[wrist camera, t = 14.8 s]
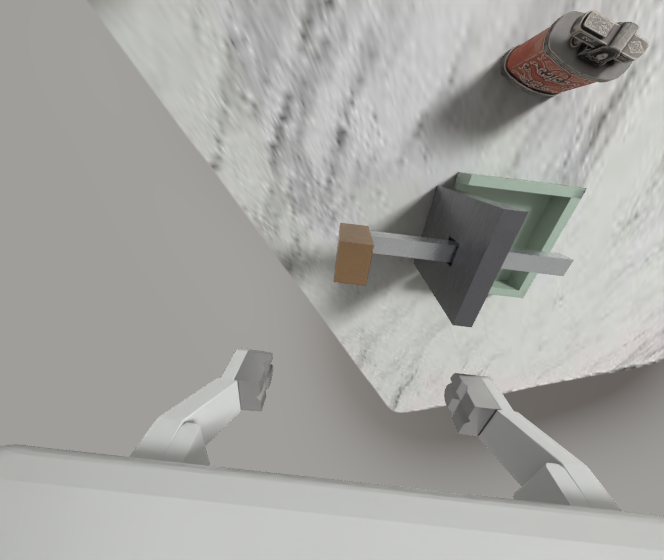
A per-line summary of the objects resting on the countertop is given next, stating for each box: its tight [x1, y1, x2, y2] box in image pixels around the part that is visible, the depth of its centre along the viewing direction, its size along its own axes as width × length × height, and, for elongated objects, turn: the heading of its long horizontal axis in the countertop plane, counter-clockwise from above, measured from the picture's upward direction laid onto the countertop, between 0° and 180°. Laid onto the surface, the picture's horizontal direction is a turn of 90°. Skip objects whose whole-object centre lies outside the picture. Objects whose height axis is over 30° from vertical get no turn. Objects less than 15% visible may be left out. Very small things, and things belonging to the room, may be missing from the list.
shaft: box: [334, 223, 573, 286], centre depth 25 cm, size 26×4×8 cm, turn 84°
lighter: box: [500, 10, 649, 97], centre depth 23 cm, size 8×3×10 cm, turn 70°
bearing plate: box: [414, 186, 528, 327], centre depth 29 cm, size 2×12×16 cm, turn 174°
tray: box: [453, 172, 587, 298], centre depth 34 cm, size 14×16×4 cm
